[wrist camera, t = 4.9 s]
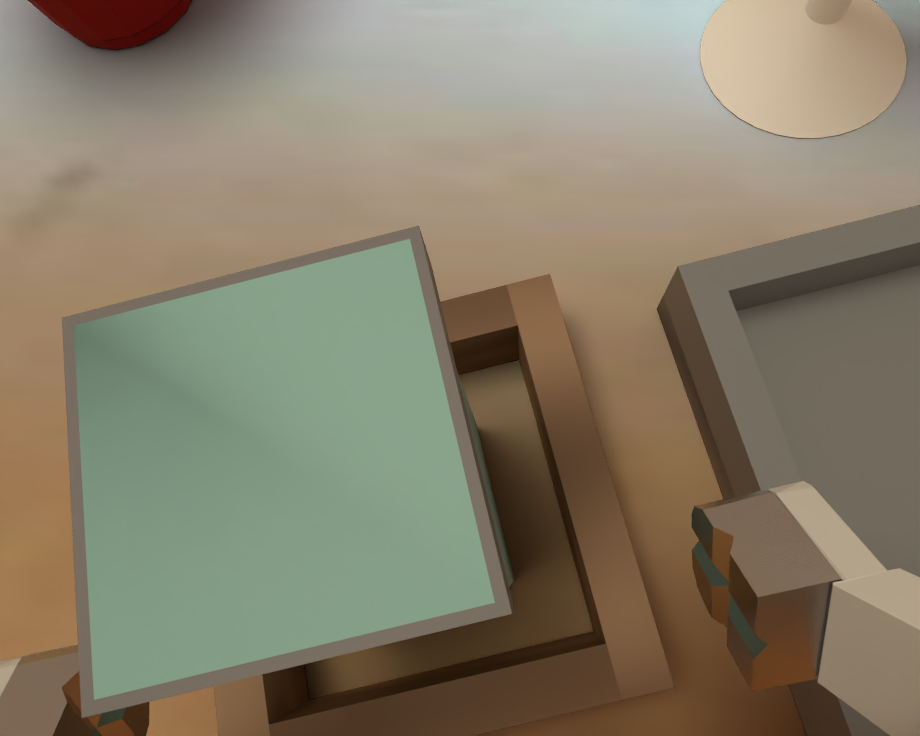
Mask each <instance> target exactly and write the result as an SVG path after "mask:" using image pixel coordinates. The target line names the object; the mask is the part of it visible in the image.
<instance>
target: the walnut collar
mask: <svg viewBox="0 0 920 736" xmlns="http://www.w3.org/2000/svg"><path fill="white" fill-rule="evenodd" d="M440 303H441V307H442V311H443V315H444V320H445V324H446V328H447V332H448V336H449V340H450V344H451V348H452V353H453V357H454V361H455V365H456V369H457V372H458V375H459V374H463V373H467V372H471V371H475V370H479V369H483V368H487V367H491V366H494V365H498V364H502V363H506V362H510V361H514V360H518V359H519V360H520V364H521V368H522V371H523V375H524V379H525V382H526V386H527V390H528V393H529V397H530V401H531V404H532V408H533V412H534V415H535V419H536V422H537V426H538V430H539V433H540V437H541V441H542V444H543V448H544V452H545V455H546V459H547V463H548V466H549V470H550V474H551V477H552V481H553V484H554V488H555V492H556V495H557V499H558V503H559V506H560V510H561V514H562V517H563V521H564V525H565V528H566V532H567V536H568V539H569V543H570V546H571V550H572V554H573V557H574V561H575V565H576V568H577V572H578V576H579V579H580V583H581V587H582V590H583V594H584V598H585V601H586V605H587V608H588V612H589V616H590V619H591V623H592V627H593V630H594V631H593V632H589V633H585V634H581V635H577V636H573V637H569V638H564V639H560V640H556V641H552V642H548V643H544V644H539V645H535V646H531V647H527V648H523V649H519V650H515V651H510V652H506V653H502V654H498V655H494V656H490V657H485V658H481V659H477V660H473V661H469V662H465V663H461V664H456V665H452V666H448V667H444V668H440V669H436V670H431V671H427V672H423V673H419V674H415V675H411V676H406V677H402V678H398V679H394V680H390V681H386V682H382V683H377V684H373V685H369V686H365V687H361V688H357V689H352V690H348V691H344V692H340V693H336V694H332V695H328V696H323V697H319V698H315V699H311V700H309V693H308V686H307V680H306V673H305V666H304V664H303V665H299V666H295V667H291V668H286V669H282V670H278V671H274V672H270V673H266V674H262V675H258V676H253V677H249V678H245V679H241V680H237V681H233V682H229V683H225V684H220V685H216V686H213V687H214V696H215V706H216V715H217V725H218V734H219V736H474V735H479V734H483V733H487V732H491V731H495V730H500V729H504V728H508V727H512V726H516V725H521V724H525V723H529V722H533V721H538V720H542V719H546V718H550V717H554V716H559V715H563V714H567V713H571V712H575V711H580V710H584V709H588V708H592V707H596V706H601V705H605V704H609V703H613V702H617V701H622V700H626V699H630V698H634V697H638V696H643V695H647V694H651V693H655V692H659V691H664V690H668V689H672V688H675V687H674V683H673V680H672V677H671V673H670V670H669V667H668V663H667V660H666V657H665V653H664V650H663V647H662V644H661V640H660V637H659V634H658V630H657V627H656V624H655V620H654V617H653V614H652V610H651V607H650V604H649V600H648V597H647V594H646V591H645V587H644V584H643V581H642V577H641V574H640V571H639V567H638V564H637V561H636V557H635V554H634V551H633V548H632V544H631V541H630V538H629V534H628V531H627V528H626V524H625V521H624V518H623V514H622V511H621V508H620V505H619V501H618V498H617V495H616V491H615V488H614V485H613V481H612V478H611V475H610V471H609V468H608V465H607V461H606V458H605V455H604V452H603V448H602V445H601V442H600V438H599V435H598V432H597V428H596V425H595V422H594V418H593V415H592V412H591V409H590V405H589V402H588V399H587V395H586V392H585V389H584V385H583V382H582V379H581V375H580V372H579V369H578V365H577V362H576V359H575V356H574V352H573V349H572V346H571V342H570V339H569V336H568V332H567V329H566V326H565V322H564V319H563V316H562V313H561V309H560V306H559V303H558V299H557V296H556V293H555V289H554V286H553V283H552V279H551V276H550V274H548V275H544V276H540V277H536V278H532V279H528V280H524V281H520V282H516V283H512V284H508V285H505V286H501V287H497V288H493V289H489V290H485V291H481V292H477V293H473V294H469V295H465V296H461V297H458V298H454V299H450V300H446V301H442V302H440Z"/></svg>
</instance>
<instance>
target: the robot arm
mask: <svg viewBox="0 0 920 736" xmlns="http://www.w3.org/2000/svg"><path fill="white" fill-rule="evenodd" d="M692 528H693V530H694V532H695V534H696V535H697V537H698V539H699V542H698V543H697V544H696V546H695V547H694V548H693V549H692V560H693V570H694V574H695V578H696V582H697V587H698V589H699V592H700V594H701V597H702V599H703V601H704V604H705V605H706V607H707V609H708V611H709V613H710V615H711V617H712V618H713V619H715V620H716V621H718V622H720V623H721V624H723V625H725V626H726V627H727V647H728V649H729V651H730V653H731V654H732V656H733V658H734V660H735V662H736V664H737V665H738V667H739V669H740V671H741V673H742V675H743V676H744V678H745V680H746V682H747V684H748V686H749V687H750V689H751V691H757V690H762V689H767V688H772V687H778V686H783V685H788V684H793V683H798V682H803V681H808V680H813V679H818V683H819V684H821V685H822V686H823V687H825V688H826V689H827V690H829V691H830V692H832V693H833V694H834V695H836V696H837V697H838V698H840V699H841V700H842V701H844V702H845V703H847V704H848V705H849V706H851V707H852V708H853V709H855V710H856V711H857V712H859V713H860V714H861V715H863V716H864V717H866V718H867V719H868V720H870V721H871V722H872V723H874V724H875V725H876V726H878V727H879V728H881V729H882V730H883V731H885V732H886V733H887V734H889V735H890V736H920V577H918V576H916V575H914V574H911V573H909V572H907V571H905V570H903V569H900V568H898V569H892V570H887V569H886V568H885V567H884V566H883V564H882V563H881V562H880V561H879V560H878V559H877V558H876V557H875V555H874V554H873V553H872V552H871V551H870V550H869V549H868V548H867V546H866V545H865V544H864V543H863V542H862V541H861V540H860V539H859V538H858V536H857V535H856V534H855V533H854V532H853V531H852V530H851V529H850V527H849V526H848V525H847V524H846V523H845V522H844V521H843V520H842V518H841V517H840V516H839V515H838V514H837V513H836V512H835V511H834V509H833V508H832V507H831V506H830V505H829V504H828V503H827V502H826V501H825V499H824V498H823V497H822V496H821V495H820V494H819V493H818V492H817V490H816V489H815V488H814V487H813V486H812V485H811V484H809V483H807V482H805V481H801V482H797V483H792V484H788V485H784V486H779V487H775V488H771V489H767V490H766V491H764V490H761V491H757V492H753V493H748V494H744V495H740V496H736V497H731V498H727V499H723V500H719V501H715V502H710V503H706V504H702V505H698V506H694V509H693V512H692ZM148 726H149V702H146V703H142V704H138V705H134V706H130V707H125V708H121V709H117V710H113V711H109V712H105V713H101V714H96V715H92V716H88V717H84V718H82V715H81V695H80V675H79V654H78V645H74V646H69V647H64V648H59V649H54V650H49V651H44V652H39V653H34V654H29V655H27V656H22V657H17V658H12V659H7V660H2V661H0V736H146V733H147V729H148Z"/></svg>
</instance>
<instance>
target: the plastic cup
mask: <svg viewBox="0 0 920 736" xmlns="http://www.w3.org/2000/svg"><path fill="white" fill-rule="evenodd" d="M28 1H29V2H31V3H32V4H33V5H34V6H35V7H36V8H37V9H39V10H40V11H41V12H42V13H43V14H44V15H46V16H47V17H48V18H49V19H50V20H51V21H53V22H54V23H55V24H56V25H58V26H59V27H61V28H62V29H64V30H65V31H67V32H68V33H70V34H72V35H73V36H75V37H77V38H78V39H80V40H81V41H83V42H84V43H86V44H87V45H89V46H93V47H100V48H107V49H113V50H115V49H120V48H125V47H131V46H136V45H141V44H143V43H145V42H147V41H149V40H151V39H153V38H155V37H156V36H158V35H160V34H162V33H164V32H166V31H167V30H168V29H169V28H170V27H171V26H172V25H173V24H174V23H175V22H176V21H177V20H178V19H179V18H180V17H181V16H182V15H183V14H184V13H185V12H186V11H187V9H188V7H189V4H190V2H191V0H28Z"/></svg>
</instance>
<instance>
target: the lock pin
mask: <svg viewBox="0 0 920 736" xmlns="http://www.w3.org/2000/svg"><path fill="white" fill-rule="evenodd" d="M62 328H63V349H64V369H65V389H66V410H67V430H68V450H69V471H70V491H71V512H72V532H73V552H74V573H75V593H76V613H77V634H78V654H79V675H80V695H81V715H82V718H84V717H88V716H92V715H96V714H101V713H105V712H109V711H113V710H117V709H121V708H125V707H130V706H134V705H138V704H142V703H146V702H150V701H154V700H158V699H163V698H167V697H171V696H175V695H179V694H183V693H187V692H191V691H196V690H200V689H204V688H208V687H212V686H216V685H220V684H225V683H229V682H233V681H237V680H241V679H245V678H249V677H253V676H258V675H262V674H266V673H270V672H274V671H278V670H282V669H286V668H291V667H295V666H299V665H303V664H307V663H311V662H315V661H320V660H324V659H328V658H332V657H336V656H340V655H344V654H348V653H353V652H357V651H361V650H365V649H369V648H373V647H377V646H382V645H386V644H390V643H394V642H398V641H402V640H406V639H410V638H415V637H419V636H423V635H427V634H431V633H435V632H439V631H443V630H448V629H452V628H456V627H460V626H464V625H468V624H472V623H477V622H481V621H485V620H489V619H493V618H497V617H501V616H505V615H510V614H512V612H513V609H514V605H513V601H512V597H511V592H510V588H509V587H510V585H511V584H512V583H513V582H514V581H515V579H514V575H513V571H512V567H511V563H510V559H509V555H508V550H507V546H506V542H505V538H504V534H503V530H502V526H501V522H500V518H499V514H498V510H497V506H496V501H495V497H494V493H493V489H492V485H491V481H490V477H489V473H488V469H487V465H486V461H485V457H484V453H483V448H482V444H481V440H480V436H479V432H478V428H477V425H476V422H475V419H474V417H473V414H472V411H471V408H470V406H469V403H468V400H467V397H466V394H465V392H464V389H463V386H462V383H461V380H460V378H459V375H458V372H457V369H456V365H455V361H454V357H453V353H452V348H451V344H450V340H449V336H448V332H447V328H446V324H445V320H444V315H443V311H442V307H441V303H440V299H439V295H438V291H437V286H436V282H435V278H434V274H433V270H432V266H431V263H430V260H429V256H428V253H427V250H426V247H425V244H424V241H423V238H422V234H421V231H420V228H419V226H416V227H412V228H408V229H404V230H400V231H396V232H392V233H389V234H385V235H381V236H377V237H373V238H369V239H365V240H361V241H358V242H354V243H350V244H346V245H342V246H338V247H334V248H330V249H327V250H323V251H319V252H315V253H311V254H307V255H303V256H299V257H296V258H292V259H288V260H284V261H280V262H276V263H272V264H268V265H265V266H261V267H257V268H253V269H249V270H245V271H241V272H237V273H234V274H230V275H226V276H222V277H218V278H214V279H210V280H207V281H203V282H199V283H195V284H191V285H187V286H183V287H179V288H176V289H172V290H168V291H164V292H160V293H156V294H152V295H148V296H145V297H141V298H137V299H133V300H129V301H125V302H121V303H117V304H114V305H110V306H106V307H102V308H98V309H94V310H90V311H86V312H83V313H79V314H75V315H71V316H67V317H63V318H62Z"/></svg>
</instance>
